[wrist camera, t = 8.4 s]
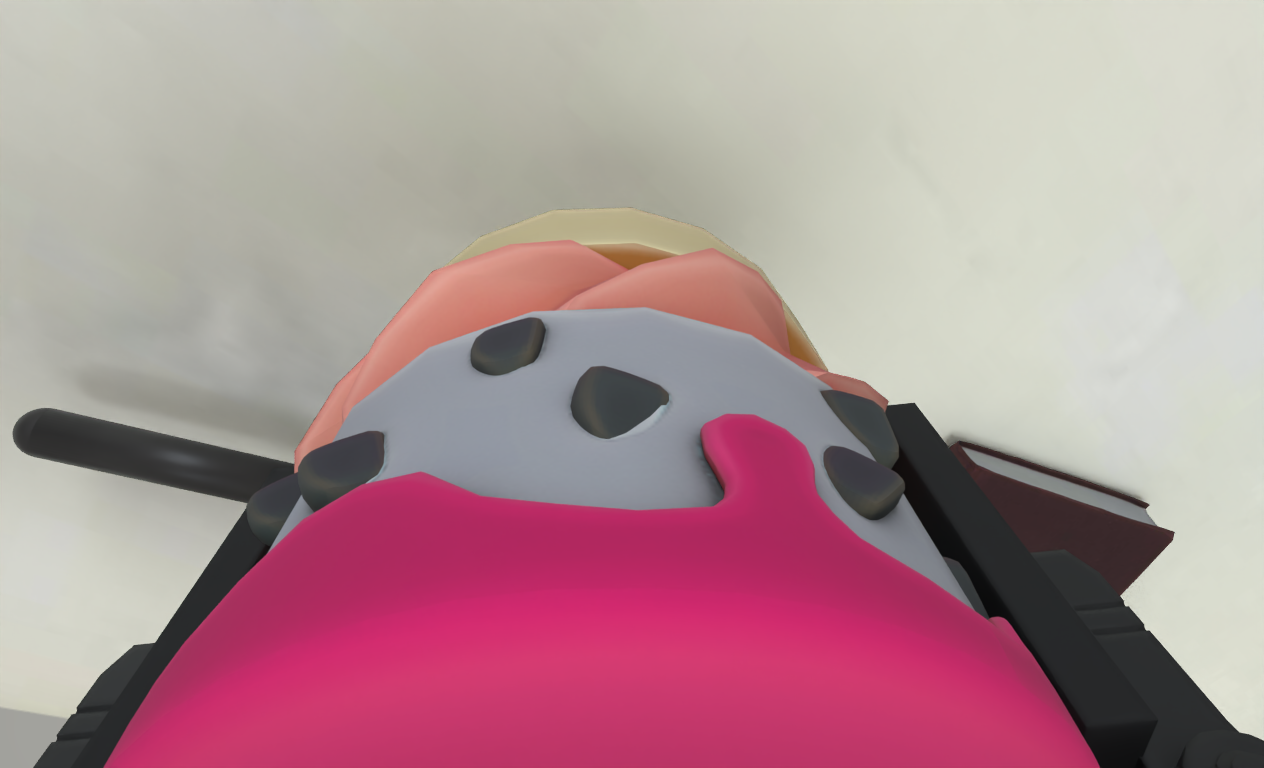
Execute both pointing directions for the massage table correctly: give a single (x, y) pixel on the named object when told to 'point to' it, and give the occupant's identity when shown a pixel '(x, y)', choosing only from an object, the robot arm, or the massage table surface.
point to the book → (1068, 514)
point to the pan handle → (142, 454)
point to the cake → (599, 546)
